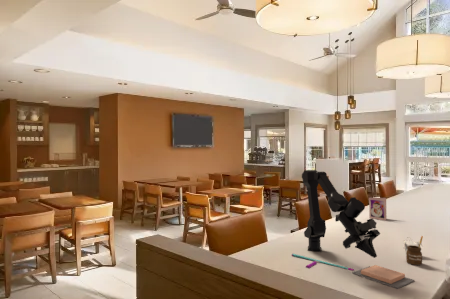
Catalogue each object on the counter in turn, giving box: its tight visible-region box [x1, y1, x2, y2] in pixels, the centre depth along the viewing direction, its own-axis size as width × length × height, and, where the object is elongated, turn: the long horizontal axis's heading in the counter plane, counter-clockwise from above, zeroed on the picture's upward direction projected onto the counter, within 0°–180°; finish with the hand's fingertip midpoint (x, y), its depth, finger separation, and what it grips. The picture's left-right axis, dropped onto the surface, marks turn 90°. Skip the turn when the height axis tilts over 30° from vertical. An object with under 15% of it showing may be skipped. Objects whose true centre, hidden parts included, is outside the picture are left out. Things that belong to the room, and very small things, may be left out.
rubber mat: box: [352, 265, 415, 290], centre depth 125 cm, size 18×12×1 cm, turn 34°
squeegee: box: [291, 253, 355, 272], centre depth 139 cm, size 29×2×10 cm
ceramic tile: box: [360, 264, 406, 284], centre depth 125 cm, size 2×10×12 cm
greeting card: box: [368, 197, 387, 221], centre depth 233 cm, size 11×7×15 cm, turn 43°
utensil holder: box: [405, 235, 424, 266], centre depth 141 cm, size 6×6×12 cm
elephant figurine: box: [403, 240, 424, 253], centre depth 152 cm, size 8×10×7 cm
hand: (375, 257), depth 127 cm, fingers closed
